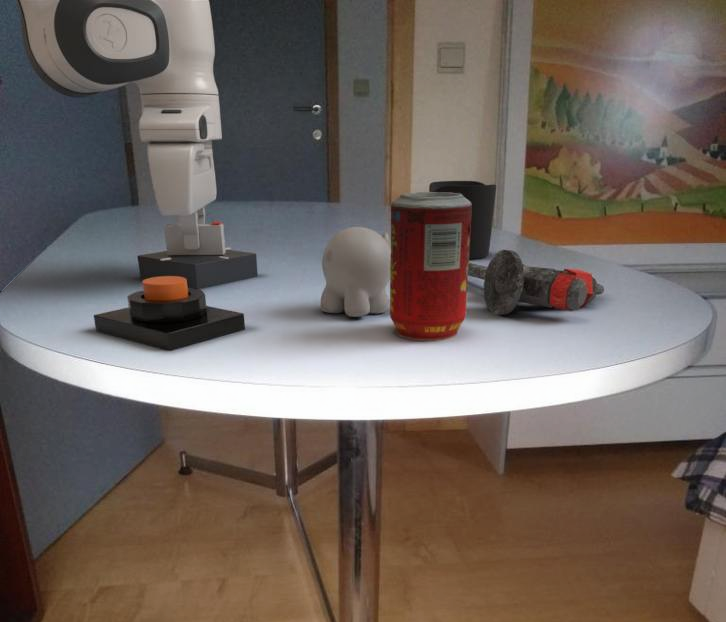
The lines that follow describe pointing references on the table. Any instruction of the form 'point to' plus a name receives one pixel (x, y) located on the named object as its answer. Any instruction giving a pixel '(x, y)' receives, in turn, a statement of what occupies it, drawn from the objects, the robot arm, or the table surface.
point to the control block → (169, 321)
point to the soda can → (429, 264)
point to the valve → (532, 285)
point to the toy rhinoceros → (356, 272)
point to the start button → (165, 288)
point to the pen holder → (474, 211)
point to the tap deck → (200, 267)
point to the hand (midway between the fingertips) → (195, 246)
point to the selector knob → (209, 240)
